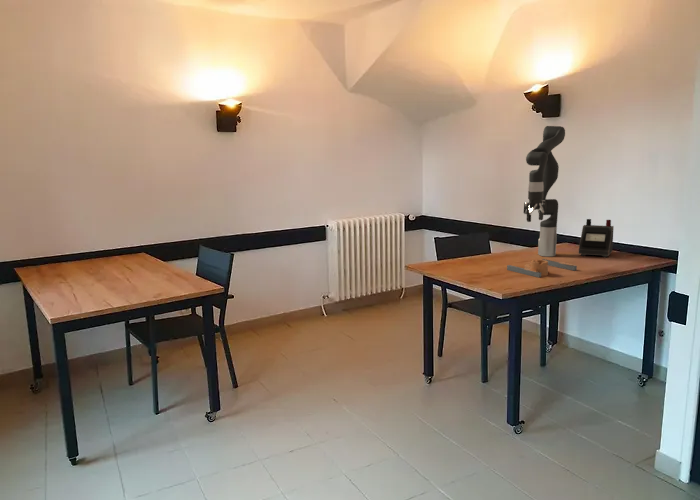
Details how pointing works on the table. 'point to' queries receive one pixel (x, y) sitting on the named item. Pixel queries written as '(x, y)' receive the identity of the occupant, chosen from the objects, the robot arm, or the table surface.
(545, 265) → the bracket
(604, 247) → the voltmeter
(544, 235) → the robot arm
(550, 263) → the guide rails
